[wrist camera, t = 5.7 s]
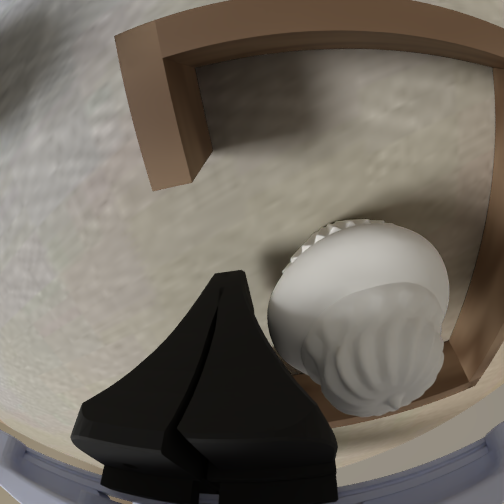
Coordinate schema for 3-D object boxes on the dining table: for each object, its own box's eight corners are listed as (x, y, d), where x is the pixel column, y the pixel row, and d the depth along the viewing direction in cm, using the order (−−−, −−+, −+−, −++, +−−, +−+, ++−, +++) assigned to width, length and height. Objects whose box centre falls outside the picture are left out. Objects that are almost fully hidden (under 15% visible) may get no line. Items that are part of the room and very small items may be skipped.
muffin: (427, 207, 10) (534, 324, 4) (371, 316, 13) (414, 442, 7) (286, 165, 10) (336, 306, 4) (250, 299, 13) (246, 453, 7)
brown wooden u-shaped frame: (455, 346, 15) (475, 385, 12) (254, 387, 17) (253, 436, 14) (503, 51, 6) (559, 58, 3) (160, 50, 7) (114, 35, 4)
